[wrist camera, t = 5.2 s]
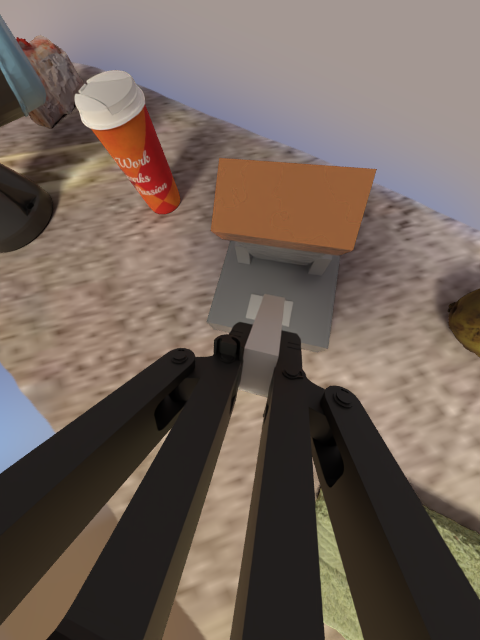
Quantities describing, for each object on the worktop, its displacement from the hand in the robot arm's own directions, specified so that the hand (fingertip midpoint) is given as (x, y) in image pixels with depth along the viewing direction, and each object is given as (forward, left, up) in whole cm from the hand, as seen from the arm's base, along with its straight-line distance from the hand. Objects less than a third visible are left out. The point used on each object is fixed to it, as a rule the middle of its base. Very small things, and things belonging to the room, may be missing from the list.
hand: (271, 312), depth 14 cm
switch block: (-6, +8, -12) cm, 15 cm away
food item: (-72, +3, -12) cm, 73 cm away
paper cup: (-30, +4, -12) cm, 32 cm away
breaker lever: (-6, +8, -7) cm, 13 cm away
